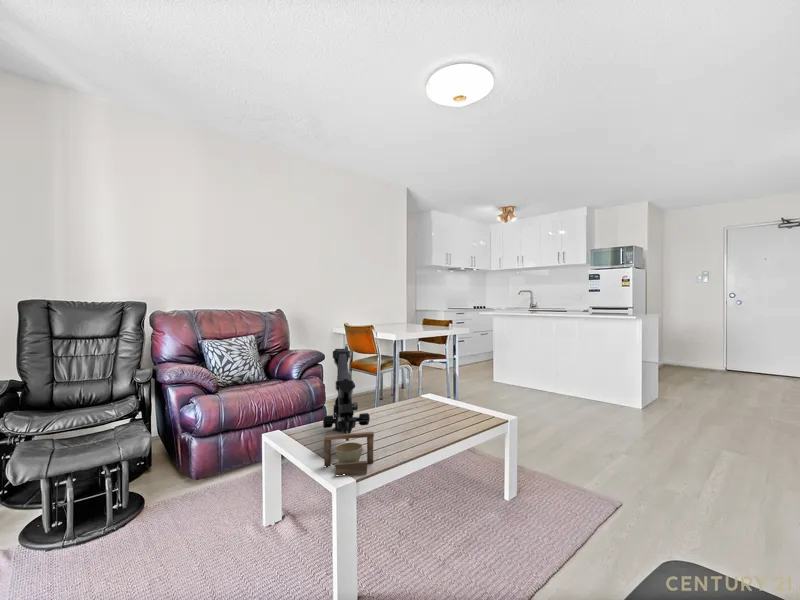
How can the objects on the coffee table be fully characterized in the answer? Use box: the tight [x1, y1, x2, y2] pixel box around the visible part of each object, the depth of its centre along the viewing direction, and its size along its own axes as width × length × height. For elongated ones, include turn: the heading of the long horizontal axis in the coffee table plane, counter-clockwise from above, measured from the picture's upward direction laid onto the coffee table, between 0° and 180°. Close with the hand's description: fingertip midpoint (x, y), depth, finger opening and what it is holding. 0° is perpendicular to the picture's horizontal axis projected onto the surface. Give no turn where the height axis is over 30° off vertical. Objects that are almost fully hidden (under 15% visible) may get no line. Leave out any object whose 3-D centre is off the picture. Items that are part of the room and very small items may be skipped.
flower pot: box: [334, 441, 363, 463], centre depth 144 cm, size 10×10×7 cm
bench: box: [323, 431, 375, 476], centre depth 142 cm, size 10×18×11 cm, turn 102°
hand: (347, 440), depth 154 cm, fingers closed
